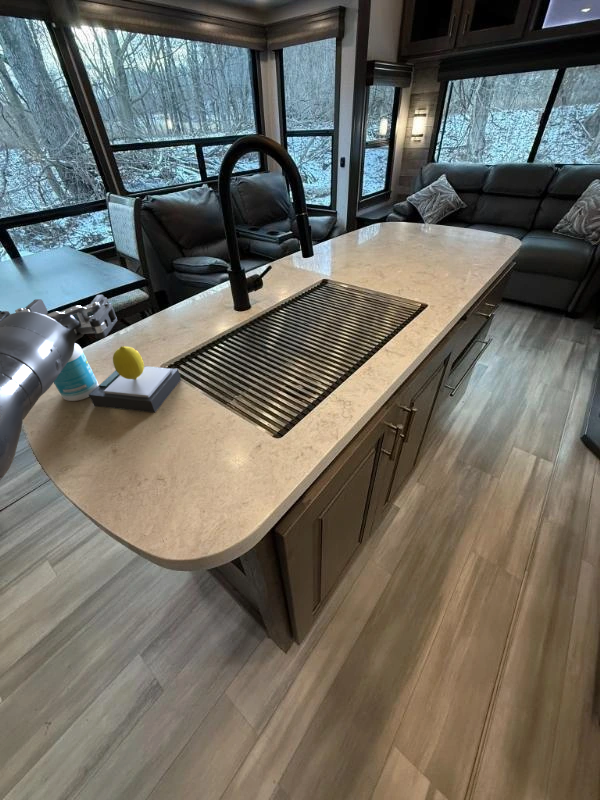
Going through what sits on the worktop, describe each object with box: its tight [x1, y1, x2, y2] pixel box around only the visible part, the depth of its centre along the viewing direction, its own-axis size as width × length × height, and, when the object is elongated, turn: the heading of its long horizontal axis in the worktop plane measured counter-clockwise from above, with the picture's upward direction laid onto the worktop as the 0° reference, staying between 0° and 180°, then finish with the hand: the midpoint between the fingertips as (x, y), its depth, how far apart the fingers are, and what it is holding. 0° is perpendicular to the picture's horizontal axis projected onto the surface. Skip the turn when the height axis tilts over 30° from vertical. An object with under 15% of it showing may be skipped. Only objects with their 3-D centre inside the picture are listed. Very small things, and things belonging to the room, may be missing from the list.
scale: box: [88, 365, 182, 413], centre depth 73 cm, size 14×12×4 cm
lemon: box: [112, 345, 145, 380], centre depth 69 cm, size 6×6×8 cm
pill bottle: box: [53, 342, 100, 402], centre depth 70 cm, size 8×7×14 cm
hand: (73, 303), depth 50 cm, fingers open, 8 cm apart
